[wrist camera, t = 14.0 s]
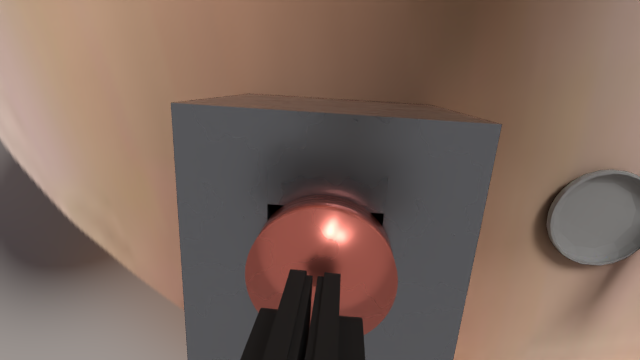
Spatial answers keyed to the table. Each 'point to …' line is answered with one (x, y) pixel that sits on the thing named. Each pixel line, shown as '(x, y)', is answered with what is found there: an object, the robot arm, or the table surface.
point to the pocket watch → (597, 217)
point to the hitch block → (335, 180)
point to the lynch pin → (325, 256)
